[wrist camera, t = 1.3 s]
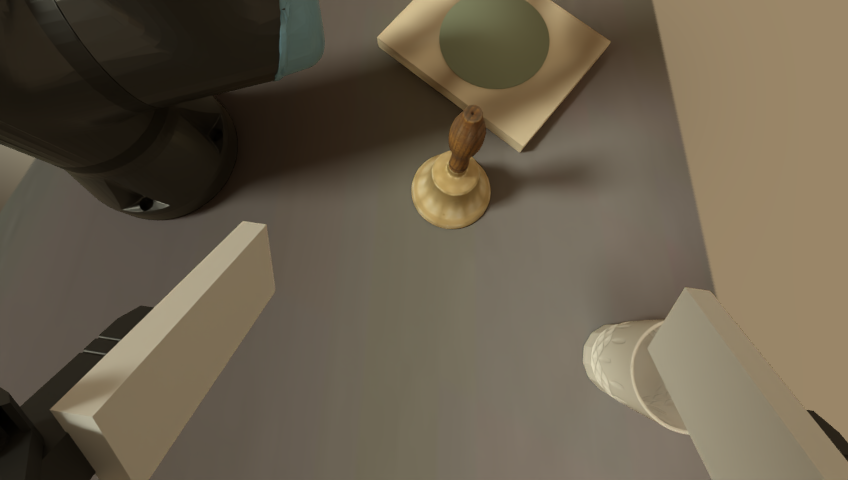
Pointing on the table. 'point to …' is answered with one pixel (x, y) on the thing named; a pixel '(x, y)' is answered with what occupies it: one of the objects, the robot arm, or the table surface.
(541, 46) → the bell board
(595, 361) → the white cup
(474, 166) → the hand bell
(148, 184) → the robot arm
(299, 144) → the table surface
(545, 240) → the table surface
